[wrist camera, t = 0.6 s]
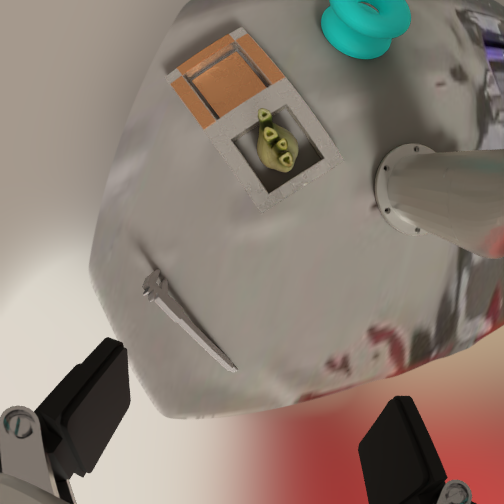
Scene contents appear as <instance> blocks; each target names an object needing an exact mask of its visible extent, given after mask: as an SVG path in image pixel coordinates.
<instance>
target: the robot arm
mask: <svg viewBox="0 0 504 504" xmlns="http://www.w3.org/2000/svg"><path fill="white" fill-rule="evenodd" d="M414 149H415V151H414ZM384 166H385V167H386V170H384ZM375 197H376V201H377V205H378V208H379V210H380V212H381V214H382V216H383V217H384V219H385V220H386V221H387V222H388V223H389V224H390V225H391V226H392V227H393V228H395V229H396V230H398V231H399V232H402V233H404V234H407V235H411V236H420V235H425V234H428V233H432V234H434V235H436V236H438V237H440V238H443V239H445V240H447V241H449V242H451V243H453V244H455V245H457V246H459V247H461V248H464V249H466V250H468V251H470V252H472V253H474V254H476V255H478V256H481V257H484V258H489V259H495V258H501V257H504V149H498V150H477V151H456V152H441V153H436V152H435V151H434V150H432V149H431V148H429V147H427V146H425V145H421V144H413V143H410V144H404V145H401V146H398V147H396V148H394V149H393V150H391V151H390V152H389V153H388V154H387V155H386V156H385V157H384V159H383V160H382V162H381V163H380V165H379V168H378V170H377V174H376V178H375ZM385 208H387V211H386V212H385ZM415 229H416V230H415ZM130 401H131V400H130V388H129V375H128V355H127V349H126V348H124V346H123V343H122V342H120V341H117V340H114V339H111V338H109V337H107V338H105V339H104V340H103V341H102V342H101V343H100V344H99V345H98V346H97V347H96V349H95V350H94V351H93V352H92V353H91V354H90V355H89V356H88V357H87V358H86V359H85V360H84V362H83V363H82V364H78V365H76V366H75V367H74V368H73V369H72V370H71V371H70V372H69V373H68V374H67V375H66V376H65V378H64V379H63V380H62V381H61V382H60V383H59V384H58V385H57V386H56V387H55V389H54V390H53V391H52V392H51V393H50V394H49V395H48V397H46V399H45V400H44V401H43V402H42V403H41V404H40V405H39V407H38V408H37V409H36V410H35V411H34V412H33V411H32V410H30V409H29V408H26V407H24V406H13V407H10V408H8V409H6V410H5V411H4V412H3V413H2V415H1V417H0V504H77V503H76V500H75V497H74V494H73V492H72V489H71V485H70V482H69V479H70V478H71V476H72V475H73V473H76V474H77V475H79V476H81V477H84V475H85V474H86V472H87V473H91V472H92V470H93V469H94V467H95V465H96V463H97V462H98V460H99V458H100V456H101V454H102V453H103V451H104V449H105V447H106V446H107V444H108V442H109V441H110V439H111V437H112V435H113V434H114V432H115V430H116V428H117V427H118V425H119V423H120V422H121V420H122V418H123V416H124V415H125V413H126V411H127V409H128V408H129V405H130ZM358 451H359V456H360V461H361V465H362V471H363V475H364V481H365V486H366V491H367V496H368V501H369V504H476V503H474V502H472V501H471V499H472V494H471V490H470V488H469V487H468V485H467V484H466V483H464V482H463V481H460V480H451V481H449V482H447V483H445V480H446V479H447V475H446V473H445V470H444V468H443V465H442V463H441V461H440V458H439V456H438V454H437V451H436V449H435V447H434V444H433V442H432V440H431V438H430V435H429V433H428V431H427V429H426V427H425V424H424V422H423V420H422V418H421V416H420V414H419V412H418V410H417V408H416V406H415V404H414V402H413V399H412V398H411V397H410V396H395V397H394V398H393V399H391V400H390V401H389V402H388V404H387V405H386V407H385V408H384V410H383V411H382V413H381V414H380V415H379V417H378V418H377V420H376V421H375V423H374V424H373V426H372V427H371V429H370V430H369V431H368V433H367V434H366V435H365V437H364V438H363V440H362V441H361V442H360V444H359V448H358Z"/></svg>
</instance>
